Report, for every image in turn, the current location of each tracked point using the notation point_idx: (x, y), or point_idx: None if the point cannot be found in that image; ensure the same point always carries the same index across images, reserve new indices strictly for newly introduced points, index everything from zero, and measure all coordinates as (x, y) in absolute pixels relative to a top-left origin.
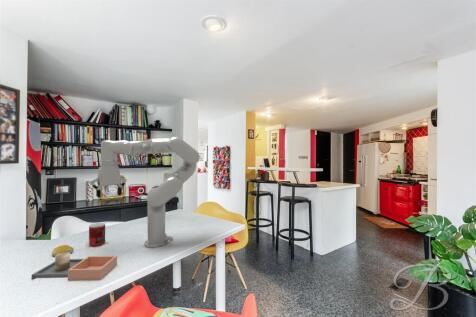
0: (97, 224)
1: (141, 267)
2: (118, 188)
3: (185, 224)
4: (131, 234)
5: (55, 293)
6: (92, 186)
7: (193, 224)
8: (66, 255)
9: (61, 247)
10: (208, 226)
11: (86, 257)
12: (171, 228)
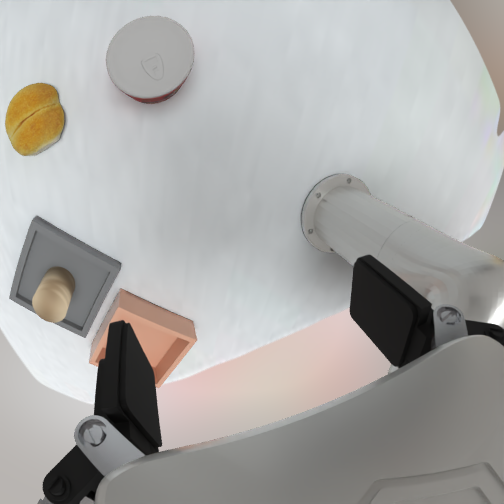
0: (155, 31)
1: (242, 349)
2: (402, 344)
3: (460, 95)
4: (305, 37)
5: (85, 372)
6: (52, 486)
7: (470, 116)
8: (62, 319)
9: (23, 120)
10: (476, 168)
11: (114, 313)
12: (426, 94)
